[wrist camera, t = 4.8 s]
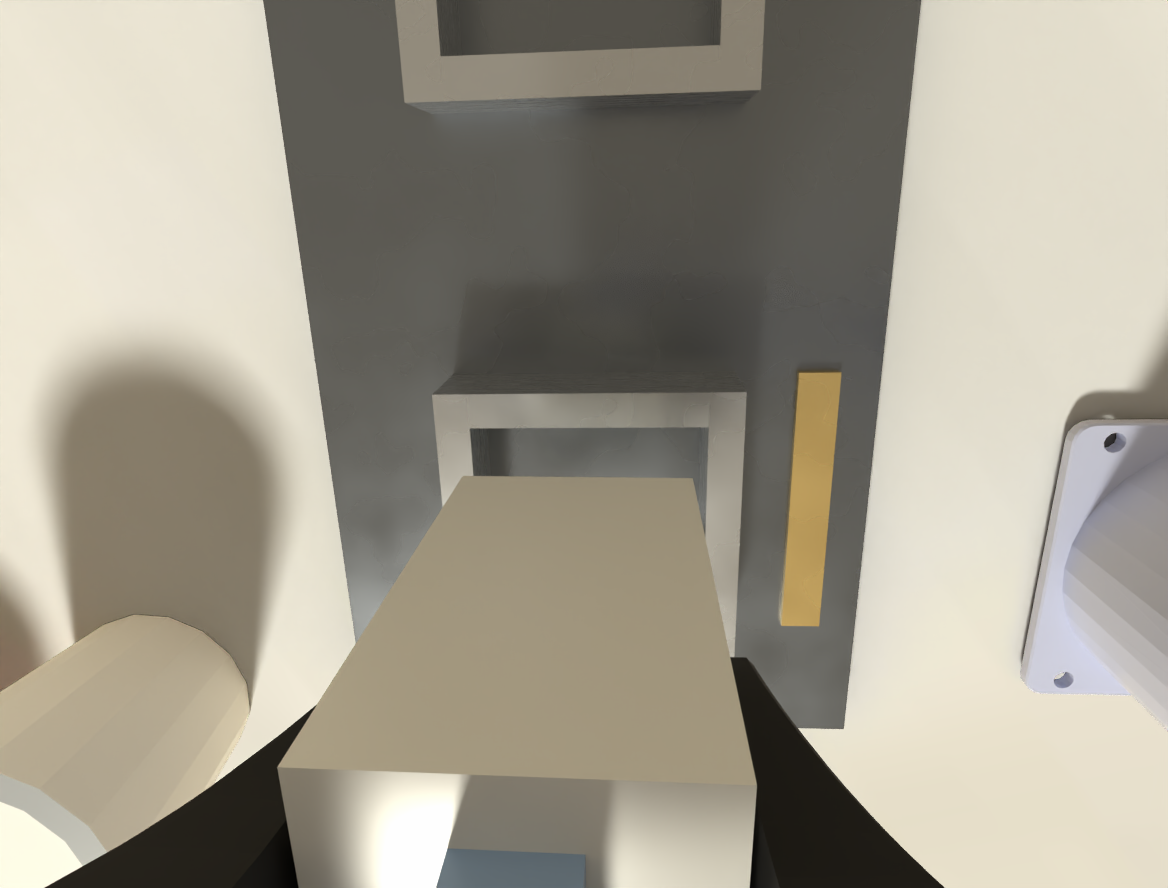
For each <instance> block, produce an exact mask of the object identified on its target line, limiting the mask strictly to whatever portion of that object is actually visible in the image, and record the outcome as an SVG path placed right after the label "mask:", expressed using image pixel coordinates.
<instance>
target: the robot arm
mask: <svg viewBox="0 0 1168 888" xmlns="http://www.w3.org/2000/svg"><path fill="white" fill-rule="evenodd" d="M1113 433H1116V440H1115V442H1114V443H1113V444H1112V445H1110V446H1109V447H1105V448H1104V441H1105V440H1106V438H1107V437H1108V436H1109V435H1111V434H1113ZM730 659H731V663H732V668H733V673H734V678H735V683H736V687H737V692H738V697H739V702H740V707H741V711H742V716H743V721H744V726H745V730H746V735H747V740H748V745H749V750H750V754H751V759H752V764H753V769H754V774H755V778H756V783H757V792H756V806H755V820H754V834H753V848H752V861H751V875H750V888H944V887H943V886H942V885H941V884H940V883H939V882H938V881H937V880H935V879H934V878H933V877H932V876H931V875H930V874H929V873H928V872H927V871H926V870H925V869H924V868H923V867H922V866H921V865H920V864H919V863H918V862H917V861H916V860H915V859H913V858H912V857H911V856H910V855H909V854H908V853H907V852H906V851H905V850H904V849H903V848H902V847H901V846H900V845H899V844H898V843H897V842H896V841H895V840H894V839H893V838H892V837H891V836H890V835H889V834H888V833H887V832H886V831H885V830H884V829H883V827H882V826H881V825H880V824H879V823H878V822H877V821H876V820H875V819H874V818H873V817H872V816H871V815H870V814H869V813H868V811H867V810H866V809H865V808H864V807H863V806H862V805H861V804H860V803H859V801H858V800H857V799H856V798H855V797H854V796H853V795H852V794H851V793H850V791H849V790H848V789H847V788H846V787H845V786H844V785H843V784H842V782H841V781H840V780H839V779H838V778H837V776H836V775H835V774H834V773H833V772H832V771H831V769H830V768H829V767H828V766H827V765H826V763H825V762H824V761H823V760H822V758H821V757H820V756H819V755H818V753H817V752H816V751H815V750H814V748H813V747H812V746H811V745H810V743H809V742H808V741H807V740H806V738H805V737H804V736H803V735H802V733H801V732H800V731H799V729H798V728H797V727H796V725H795V724H794V723H793V721H792V720H791V719H790V717H789V716H788V715H787V713H786V712H785V710H784V709H783V708H782V706H781V705H780V704H779V702H778V701H777V699H776V698H775V697H774V695H773V694H772V692H771V691H770V689H769V688H768V686H767V685H766V683H765V682H764V680H763V679H762V677H761V676H760V674H759V673H758V671H757V670H756V668H755V666H754V665H753V664H752V663H751V662H750V661H749V660H748V659H747V658H746V657H730ZM1063 672H1065V674H1064V676H1062V677H1061V678H1059V679H1055V677H1056V676H1057V675H1058V674H1060V673H1063ZM1020 675H1021V679H1022V681H1023V682H1024V684H1025V685H1026V686H1027V687H1028V688H1029V689H1030V690H1031V691H1033V692H1035V693H1040V694H1082V695H1132V696H1133V697H1134V698H1135V699H1136V700H1137V701H1138V702H1139V703H1140V704H1141V705H1142V706H1143V707H1144V708H1145V709H1146V710H1147V711H1148V712H1149V713H1150V714H1151V715H1152V716H1153V717H1154V718H1155V719H1156V720H1157V721H1158V722H1159V723H1160V724H1161V725H1162V726H1163V727H1164V728H1165V729H1166V730H1167V731H1168V419H1120V420H1085V421H1081V422H1079V423H1077V424H1075V425H1074V426H1073V427H1072V428H1071V429H1070V430H1069V431H1068V434H1067V436H1066V439H1065V444H1064V449H1063V454H1062V459H1061V464H1060V469H1059V475H1058V480H1057V485H1056V490H1055V495H1054V501H1053V506H1052V511H1051V516H1050V521H1049V526H1048V532H1047V537H1046V542H1045V547H1044V552H1043V557H1042V563H1041V568H1040V573H1039V578H1038V583H1037V588H1036V594H1035V599H1034V604H1033V609H1032V614H1031V619H1030V625H1029V630H1028V635H1027V640H1026V645H1025V650H1024V656H1023V661H1022V666H1021V671H1020ZM316 706H317V705H316ZM316 706H315V707H316ZM315 707H313V708H312V709H311V710H310V711H309V712H307V713H306V714H305V715H304V716H302V717H301V718H300V719H299V720H298V721H296V722H295V723H294V724H293V725H291V726H290V727H289V728H288V729H287V730H285V731H284V732H283V733H282V734H280V735H279V736H278V737H276V738H275V739H274V740H272V741H271V742H270V743H268V744H267V745H266V746H264V747H263V748H262V749H260V750H259V751H258V752H256V753H255V754H254V755H252V756H251V757H250V758H248V759H247V760H246V761H244V762H243V763H242V764H240V765H239V766H238V767H236V768H235V769H234V770H232V771H231V772H230V773H228V774H227V775H226V776H224V777H223V778H222V779H220V780H219V781H218V782H216V783H215V784H213V785H212V786H211V787H209V788H208V789H206V790H205V791H203V792H202V793H201V794H199V795H198V796H196V797H195V798H193V799H192V800H190V801H189V802H187V803H186V804H184V805H183V806H181V807H180V808H178V809H177V810H175V811H174V812H172V813H170V814H169V815H167V816H166V817H164V818H163V819H161V820H159V821H158V822H156V823H155V824H153V825H152V826H150V827H149V828H147V829H145V830H144V831H142V832H141V833H139V834H138V835H136V836H134V837H133V838H131V839H129V840H128V841H126V842H124V843H123V844H121V845H119V846H118V847H116V848H114V849H112V850H110V851H109V852H107V853H105V854H103V855H102V856H100V857H98V858H96V859H94V860H93V861H91V862H89V863H87V864H86V865H84V866H82V867H80V868H78V869H77V870H75V871H73V872H71V873H70V874H68V875H66V876H64V877H62V878H61V879H59V880H57V881H55V882H54V883H52V884H50V885H48V886H46V887H45V888H299V887H298V881H297V875H296V870H295V864H294V859H293V853H292V847H291V842H290V836H289V831H288V825H287V819H286V814H285V808H284V803H283V797H282V791H281V786H280V780H279V775H278V769H277V767H278V765H279V764H280V762H281V761H282V759H283V757H284V756H285V754H286V753H287V751H288V750H289V748H290V746H291V745H292V743H293V742H294V740H295V739H296V737H297V735H298V734H299V732H300V731H301V729H302V728H303V726H304V724H305V723H306V721H307V720H308V718H309V717H310V715H311V713H312V712H313V710H314V709H315Z"/></svg>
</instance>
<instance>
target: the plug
mask: <svg viewBox="0 0 1168 888" xmlns="http://www.w3.org/2000/svg"><path fill="white" fill-rule="evenodd" d="M277 769H278V775H279V780H280V786H281V791H282V797H283V803H284V808H285V814H286V819H287V825H288V831H289V836H290V842H291V847H292V853H293V859H294V864H295V870H296V875H297V881H298V887H299V888H750V875H751V861H752V848H753V834H754V820H755V806H756V792H757V783H756V778H755V774H754V769H753V764H752V759H751V754H750V750H749V745H748V740H747V735H746V730H745V726H744V721H743V716H742V711H741V707H740V702H739V697H738V692H737V687H736V683H735V678H734V673H733V668H732V663H731V659H730V654H729V649H728V644H727V640H726V635H725V630H724V625H723V620H722V616H721V611H720V606H719V601H718V596H717V592H716V587H715V582H714V577H713V573H712V568H711V563H710V558H709V553H708V549H707V544H706V539H705V534H704V529H703V525H702V520H701V515H700V510H699V506H698V501H697V496H696V491H695V486H694V482H693V478H629V477H525V476H462V478H461V479H460V481H459V483H458V484H457V486H456V487H455V489H454V490H453V492H452V494H451V495H450V497H449V498H448V500H447V501H446V503H445V505H444V506H443V508H442V509H441V511H440V512H439V514H438V516H437V517H436V519H435V520H434V522H433V523H432V525H431V527H430V528H429V530H428V531H427V533H426V534H425V536H424V538H423V539H422V541H421V542H420V544H419V545H418V547H417V549H416V550H415V552H414V553H413V555H412V556H411V558H410V560H409V561H408V563H407V564H406V566H405V567H404V569H403V571H402V572H401V574H400V575H399V577H398V578H397V580H396V582H395V583H394V585H393V586H392V588H391V589H390V591H389V593H388V594H387V596H386V597H385V599H384V600H383V602H382V604H381V605H380V607H379V608H378V610H377V611H376V613H375V615H374V616H373V618H372V619H371V621H370V622H369V624H368V626H367V627H366V629H365V630H364V632H363V633H362V635H361V636H360V638H359V640H358V641H357V643H356V644H355V646H354V647H353V649H352V651H351V652H350V654H349V655H348V657H347V658H346V660H345V662H344V663H343V665H342V666H341V668H340V669H339V671H338V673H337V674H336V676H335V677H334V679H333V680H332V682H331V684H330V685H329V687H328V688H327V690H326V691H325V693H324V695H323V696H322V698H321V699H320V701H319V702H318V704H317V706H316V707H315V709H314V710H313V712H312V713H311V715H310V717H309V718H308V720H307V721H306V723H305V724H304V726H303V728H302V729H301V731H300V732H299V734H298V735H297V737H296V739H295V740H294V742H293V743H292V745H291V746H290V748H289V750H288V751H287V753H286V754H285V756H284V757H283V759H282V761H281V762H280V764H279V765H278V767H277Z"/></svg>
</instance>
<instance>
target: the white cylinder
mask: <svg viewBox="0 0 1168 888" xmlns="http://www.w3.org/2000/svg"><path fill="white" fill-rule="evenodd" d="M249 714H250V706H249V698H248V690H247V683H246V681H245V679H244V678H243V676H242V674H241V673H240V671H239V669H238V667H237V666H236V664H235V662H234V661H233V659H232V657H231V656H230V654H229V653H228V652H226V651H225V650H224V649H223V648H222V647H220V646H219V645H218V644H217V643H216V642H215V641H213V640H212V639H211V638H210V637H209V636H207V635H206V634H205V633H204V632H203V631H201V630H198V629H196V628H194V627H191V626H189V625H186V624H184V623H182V622H179V621H177V620H174V619H172V618H170V617H160V616H146V615H131V616H128V617H125V618H122V619H119V620H116V621H113V622H110V623H107V624H104V625H103V626H101V627H99V628H98V629H96V630H95V631H93V632H92V633H90V634H89V635H87V636H86V637H84V638H83V639H81V640H79V641H78V642H76V643H75V644H73V645H72V646H70V647H69V648H67V649H66V650H64V651H62V652H61V653H59V654H58V655H56V656H55V657H53V658H52V659H50V660H49V661H47V662H46V663H44V664H42V665H41V666H39V667H38V668H36V669H35V670H33V671H32V672H30V673H29V674H27V675H26V676H24V677H22V678H21V679H19V680H18V681H16V682H15V683H13V684H12V685H10V686H9V687H7V688H5V689H4V690H2V691H1V692H0V888H45V887H46V886H48V885H50V884H52V883H54V882H55V881H57V880H59V879H61V878H62V877H64V876H66V875H68V874H70V873H71V872H73V871H75V870H77V869H78V868H80V867H82V866H84V865H86V864H87V863H89V862H91V861H93V860H94V859H96V858H98V857H100V856H102V855H103V854H105V853H107V852H109V851H110V850H112V849H114V848H116V847H118V846H119V845H121V844H123V843H124V842H126V841H128V840H129V839H131V838H133V837H134V836H136V835H138V834H139V833H141V832H142V831H144V830H145V829H147V828H149V827H150V826H152V825H153V824H155V823H156V822H158V821H159V820H161V819H163V818H164V817H166V816H167V815H169V814H170V813H172V812H174V811H175V810H177V809H178V808H180V807H181V806H183V805H184V804H186V803H187V802H189V801H190V800H192V799H193V798H195V797H196V796H198V795H199V794H201V793H202V792H203V791H205V790H206V789H208V788H209V787H211V786H212V785H213V784H214V783H215V781H216V779H217V777H218V776H219V774H220V772H221V770H222V769H223V767H224V765H225V763H226V762H227V760H228V758H229V756H230V755H231V753H232V751H233V750H234V748H235V746H236V744H237V743H238V741H239V739H240V737H241V735H242V733H243V730H244V727H245V724H246V722H247V719H248V716H249Z"/></svg>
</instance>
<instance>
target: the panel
mask: <svg viewBox="0 0 1168 888" xmlns="http://www.w3.org/2000/svg"><path fill="white" fill-rule="evenodd" d="M263 2H264V8H265V15H266V22H267V29H268V36H269V43H270V50H271V57H272V64H273V71H274V78H275V85H276V92H277V99H278V106H279V113H280V120H281V126H282V133H283V140H284V147H285V154H286V161H287V168H288V175H289V182H290V189H291V196H292V203H293V210H294V217H295V224H296V231H297V238H298V245H299V251H300V258H301V265H302V272H303V279H304V286H305V293H306V300H307V307H308V314H309V321H310V328H311V335H312V342H313V349H314V356H315V363H316V370H317V376H318V383H319V390H320V397H321V404H322V411H323V418H324V425H325V432H326V439H327V446H328V453H329V460H330V467H331V474H332V481H333V488H334V495H335V501H336V508H337V515H338V522H339V529H340V536H341V543H342V550H343V557H344V564H345V571H346V578H347V585H348V592H349V599H350V606H351V613H352V620H353V626H354V633H355V640H356V643H357V641H358V640H359V638H360V636H361V635H362V633H363V632H364V630H365V629H366V627H367V626H368V624H369V622H370V621H371V619H372V618H373V616H374V615H375V613H376V611H377V610H378V608H379V607H380V605H381V604H382V602H383V600H384V599H385V597H386V596H387V594H388V593H389V591H390V589H391V588H392V586H393V585H394V583H395V582H396V580H397V578H398V577H399V575H400V574H401V572H402V571H403V569H404V567H405V566H406V564H407V563H408V561H409V560H410V558H411V556H412V555H413V553H414V552H415V550H416V549H417V547H418V545H419V544H420V542H421V541H422V539H423V538H424V536H425V534H426V533H427V531H428V530H429V528H430V527H431V525H432V523H433V522H434V520H435V519H436V517H437V516H438V514H439V512H440V511H441V509H442V508H443V506H444V505H445V503H446V501H447V500H448V498H449V497H450V495H451V494H452V492H453V490H454V489H455V487H456V486H457V484H458V483H459V481H460V479H461V478H462V476H525V477H629V478H693V482H694V486H695V491H696V496H697V501H698V506H699V510H700V515H701V520H702V525H703V529H704V534H705V539H706V544H707V549H708V553H709V558H710V563H711V568H712V573H713V577H714V582H715V587H716V592H717V596H718V601H719V606H720V611H721V616H722V620H723V625H724V630H725V635H726V640H727V644H728V649H729V654H730V657H746V658H747V659H748V660H749V661H750V662H751V663H752V664H753V665H754V666H755V668H756V670H757V671H758V673H759V674H760V676H761V677H762V679H763V680H764V682H765V683H766V685H767V686H768V688H769V689H770V691H771V692H772V694H773V695H774V697H775V698H776V699H777V701H778V702H779V704H780V705H781V706H782V708H783V709H784V710H785V712H786V713H787V715H788V716H789V717H790V719H791V720H792V721H793V723H794V724H795V725H796V727H797V728H821V729H844V721H845V711H846V702H847V692H848V683H849V673H850V664H851V655H852V645H853V636H854V626H855V617H856V608H857V598H858V589H859V579H860V570H861V560H862V551H863V542H864V532H865V523H866V513H867V504H868V495H869V485H870V476H871V466H872V457H873V448H874V438H875V429H876V419H877V410H878V400H879V391H880V382H881V372H882V363H883V353H884V344H885V335H886V325H887V316H888V306H889V297H890V287H891V278H892V269H893V259H894V250H895V240H896V231H897V222H898V212H899V203H900V193H901V184H902V175H903V165H904V156H905V146H906V137H907V127H908V118H909V109H910V99H911V90H912V80H913V71H914V62H915V52H916V43H917V33H918V24H919V14H920V5H921V0H263Z"/></svg>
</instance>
